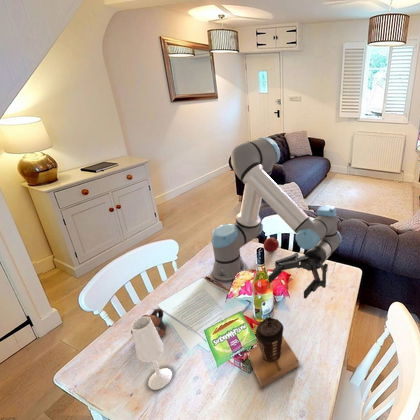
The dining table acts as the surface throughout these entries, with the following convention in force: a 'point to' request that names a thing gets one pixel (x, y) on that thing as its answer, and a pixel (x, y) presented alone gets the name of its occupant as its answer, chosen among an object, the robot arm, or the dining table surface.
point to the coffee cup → (270, 339)
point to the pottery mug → (157, 321)
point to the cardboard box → (272, 364)
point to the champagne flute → (150, 350)
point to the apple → (271, 244)
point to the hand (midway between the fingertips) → (286, 287)
